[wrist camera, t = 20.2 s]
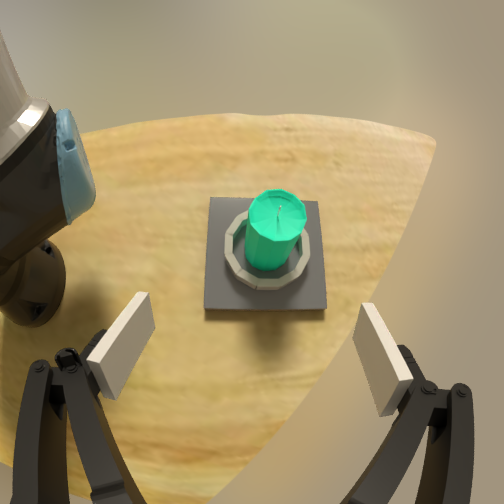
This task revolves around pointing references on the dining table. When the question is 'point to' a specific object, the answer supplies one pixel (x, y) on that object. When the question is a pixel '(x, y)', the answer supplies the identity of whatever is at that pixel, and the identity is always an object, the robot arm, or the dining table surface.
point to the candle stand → (252, 279)
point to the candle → (273, 228)
